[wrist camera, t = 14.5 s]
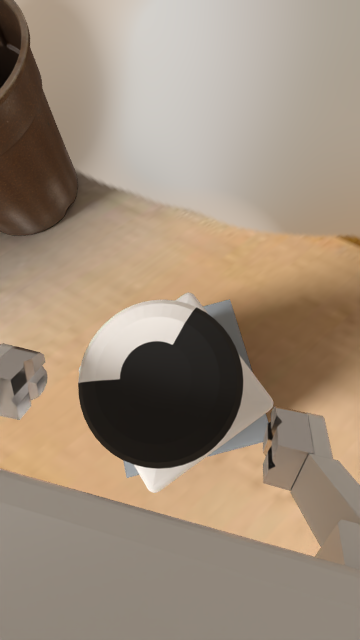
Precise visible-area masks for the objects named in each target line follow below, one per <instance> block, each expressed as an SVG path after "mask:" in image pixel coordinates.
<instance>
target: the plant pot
mask: <svg viewBox="0 0 360 640" xmlns="http://www.w3.org/2000/svg"><path fill="white" fill-rule="evenodd" d="M77 185H78V184H77V176H76V172H75V169H74V167H73V164H72V162H71V160H70V157H69V155H68V152H67V150H66V147H65V145H64V143H63V140H62V138H61V135H60V133H59V130H58V128H57V125H56V123H55V120H54V118H53V115H52V112H51V110H50V107H49V105H48V102H47V100H46V97H45V95H44V92H43V89H42V80H41V75H40V72H39V70H38V67H37V64H36V62H35V59H34V57H33V54H32V51H31V49H30V34H29V29H28V26H27V22H26V20H25V17H24V15H23V13H22V11H21V9H20V8H19V6H18V5H17V4H16V2H15V1H14V0H0V231H1V232H4V233H6V234H9V235H17V236H22V235H30V234H35V233H38V232H41V231H43V230H46V229H48V228H50V227H51V226H53V225H55V224H56V223H57V222H59V221H60V220H61V219H62V218H63V217H64V216H65V213H66V210H67V208H68V207H69V206H70V204H71V203H73V202H74V201H75V198H76V194H77Z"/></svg>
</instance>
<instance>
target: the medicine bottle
mask: <svg viewBox="0 0 360 640" xmlns="http://www.w3.org/2000/svg"><path fill="white" fill-rule="evenodd" d="M78 387H79V399H80V405H81V409H82V412H83V415H84V418H85V420H86V422H87V424H88V426H89V428H90V430H91V431H92V433H93V434H94V436H95V437H96V438H97V440H98V441H99V442H100V443H101V444H102V445H103V446H104V447H105V448H106V449H107V450H109V451H110V452H111V453H112V454H114V455H115V456H117V457H119V458H120V459H122V460H124V461H126V462H129V463H131V464H134V466H135V468H136V469H137V471H138V473H139V475H140V476H141V478H142V480H143V481H144V483H145V485H146V486H147V488H148V490H149V491H150V492H154V493H156V492H159V491H160V490H162V489H163V488H164V487H166V486H167V485H168V484H170V483H171V482H173V481H174V480H175V479H177V478H178V477H179V476H181V475H182V474H183V473H185V472H186V471H188V470H189V469H190V468H192V467H193V466H194V465H196V464H197V463H198V462H200V461H201V460H203V459H204V458H205V457H207V456H208V455H209V454H211V453H212V452H214V451H215V450H216V449H218V448H219V447H220V446H222V445H223V444H224V443H226V442H227V441H229V440H230V439H231V438H233V437H234V436H235V435H237V434H238V433H239V432H241V431H242V430H244V429H245V428H246V427H248V426H249V425H250V424H252V423H253V422H254V421H256V420H257V419H259V418H260V417H261V416H263V415H264V414H265V413H267V412H268V411H269V410H271V409H272V407H273V403H274V402H273V400H272V398H271V396H270V395H269V394H268V393H267V391H266V390H265V389H264V387H263V386H262V385H261V383H260V382H259V381H258V379H257V378H256V377H255V375H254V374H253V373H252V371H251V370H250V369H249V367H248V366H247V365H246V363H245V362H244V361H243V359H242V358H241V357H240V355H239V354H238V352H237V349H236V346H235V345H234V343H233V341H232V339H231V337H230V336H229V334H228V333H227V332H226V331H225V329H224V328H223V327H222V326H221V325H220V324H219V323H218V322H217V321H216V320H215V319H214V318H213V317H211V316H210V315H209V314H208V313H207V311H206V310H205V309H204V307H203V306H202V305H201V303H200V302H199V301H198V299H197V298H196V297H195V296H194V295H193V294H192V293H186V294H184V295H182V296H181V297H179V298H178V299H177V300H175V301H173V300H152V301H146V302H142V303H139V304H135V305H133V306H130V307H128V308H126V309H124V310H122V311H121V312H119V313H117V314H116V315H114V316H113V317H112V318H111V319H109V320H108V321H107V322H106V323H105V324H104V325H103V326H102V327H101V328H100V329H99V330H98V332H97V333H96V334H95V336H94V337H93V339H92V340H91V342H90V344H89V346H88V347H87V349H86V352H85V354H84V357H83V360H82V363H81V366H80V368H79V382H78Z"/></svg>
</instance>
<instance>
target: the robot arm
mask: <svg viewBox="0 0 360 640" xmlns="http://www.w3.org/2000/svg"><path fill="white" fill-rule="evenodd" d="M44 363H45V358H44V354H42V353H40V352H36V351H32V350H28V349H24V348H20V347H17V346H16V347H15V346H11V345H7V344H4V343H3V344H0V416H4V417H8V418H13V419H17V420H20V419H21V418H22V416H23V415H24V414H25V413H26V412H27V410H28V409H29V408H30V407H31V400H33V399H35V398H37V397H39V396H40V395H41V393H42V392H43V390H44V388H45V386H46V383H47V372H46V370H45V369H44V368H43V366H42V365H43V364H44ZM263 453H264V454H265V456H266V458H265V460H264V463H263V483H265V484H268V485H272V486H275V487H279V488H282V489H286V490H289V491H291V494H292V496H293V498H294V500H295V501H296V503H297V505H298V507H299V509H300V510H301V512H302V514H303V516H304V518H305V519H306V521H307V523H308V525H309V527H310V528H311V530H312V532H313V534H314V536H315V537H316V539H317V541H318V543H319V545H320V546H321V548H320V550H319V551H318V553H317V554H316V556H315V557H313V556H310V555H306V554H302V553H299V552H295V551H292V550H288V549H285V548H281V547H278V546H274V545H270V544H267V543H263V542H260V541H256V540H253V539H249V538H246V537H242V536H238V535H235V534H231V533H228V532H224V531H221V530H217V529H214V528H210V527H206V526H203V525H199V524H196V523H192V522H189V521H185V520H181V519H178V518H174V517H171V516H167V515H164V514H160V513H156V512H153V511H149V510H146V509H142V508H139V507H135V506H131V505H128V504H124V503H121V502H117V501H114V500H110V499H106V498H103V497H99V496H96V495H92V494H89V493H85V492H82V491H78V490H75V489H71V488H68V487H64V486H60V485H57V484H53V483H50V482H46V481H43V480H39V479H36V478H32V477H29V476H25V475H21V474H18V473H14V472H11V471H7V470H4V469H0V640H360V485H359V484H358V483H357V482H356V480H355V479H354V478H353V477H352V476H351V475H350V473H349V472H348V471H347V470H346V469H345V468H344V467H343V465H342V464H341V463H340V462H339V461H338V460H334V459H333V455H332V451H331V446H330V442H329V437H328V433H327V428H326V423H325V419H324V417H323V416H320V415H315V414H311V413H305V412H301V411H296V410H291V409H287V408H282V407H278V406H274V408H273V410H272V413H271V422H270V423H268V424H267V427H266V430H265V435H264V441H263Z"/></svg>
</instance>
